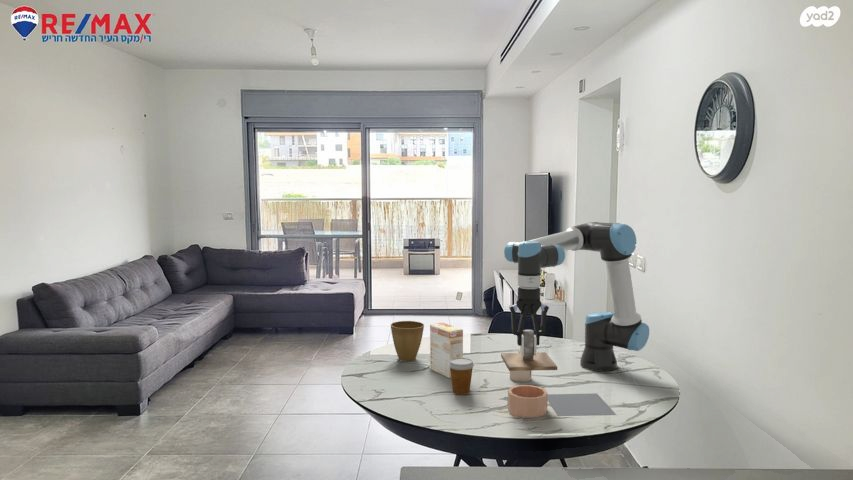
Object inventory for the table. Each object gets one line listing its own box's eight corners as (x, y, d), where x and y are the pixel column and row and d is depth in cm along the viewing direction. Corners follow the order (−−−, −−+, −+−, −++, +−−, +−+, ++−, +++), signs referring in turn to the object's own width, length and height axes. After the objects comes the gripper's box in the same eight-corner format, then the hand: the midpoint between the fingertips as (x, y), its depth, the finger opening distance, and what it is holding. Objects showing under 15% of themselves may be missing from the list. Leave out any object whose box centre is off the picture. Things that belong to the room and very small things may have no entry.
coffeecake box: (463, 375, 240) (463, 329, 238) (449, 379, 236) (449, 331, 234) (443, 366, 252) (443, 321, 250) (429, 369, 248) (429, 324, 247)
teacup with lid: (535, 381, 232) (536, 352, 231) (514, 383, 230) (514, 354, 229) (523, 371, 244) (523, 344, 243) (503, 373, 242) (503, 346, 241)
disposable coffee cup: (447, 387, 226) (447, 357, 224) (471, 387, 226) (471, 356, 225) (450, 396, 216) (450, 365, 215) (475, 395, 217) (475, 364, 216)
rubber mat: (596, 394, 217) (596, 393, 217) (616, 416, 197) (616, 414, 197) (543, 396, 216) (543, 394, 216) (557, 417, 197) (557, 415, 197)
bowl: (541, 403, 209) (541, 384, 208) (550, 418, 196) (551, 398, 195) (505, 404, 208) (505, 385, 208) (512, 419, 196) (512, 398, 195)
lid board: (545, 355, 209) (546, 324, 208) (557, 370, 193) (557, 336, 192) (501, 356, 208) (501, 325, 207) (509, 370, 192) (509, 337, 191)
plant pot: (412, 366, 252) (412, 330, 251) (384, 360, 260) (384, 325, 258) (430, 357, 265) (430, 322, 263) (403, 352, 272) (403, 318, 271)
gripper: (506, 289, 194) (505, 358, 196) (556, 288, 195) (555, 357, 197) (502, 285, 201) (502, 351, 204) (550, 284, 202) (549, 351, 204)
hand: (528, 354), depth 200 cm, fingers closed on lid board, 4 cm apart
